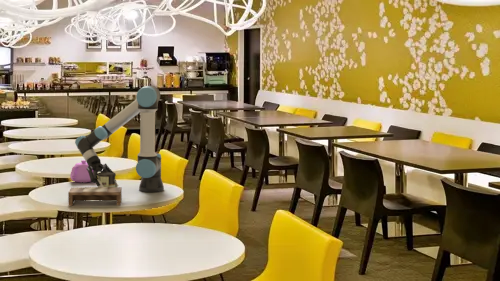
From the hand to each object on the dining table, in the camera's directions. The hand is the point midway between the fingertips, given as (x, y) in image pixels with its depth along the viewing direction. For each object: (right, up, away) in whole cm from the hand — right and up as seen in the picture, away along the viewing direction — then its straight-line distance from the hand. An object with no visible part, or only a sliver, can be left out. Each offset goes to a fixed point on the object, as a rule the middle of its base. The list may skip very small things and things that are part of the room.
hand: (110, 188), depth 402 cm
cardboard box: (-5, -7, -14) cm, 16 cm away
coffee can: (-3, -5, +3) cm, 6 cm away
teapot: (-25, +1, +49) cm, 55 cm away
